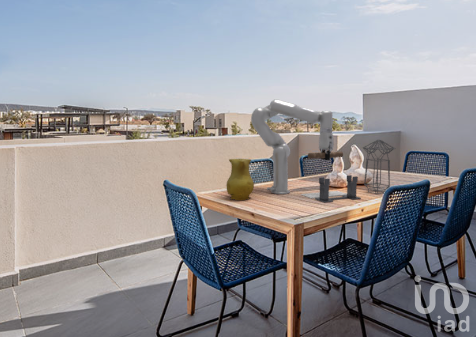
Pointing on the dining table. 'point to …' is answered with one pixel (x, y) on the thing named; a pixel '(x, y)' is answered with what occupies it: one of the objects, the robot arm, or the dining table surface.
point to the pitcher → (240, 180)
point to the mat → (316, 195)
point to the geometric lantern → (377, 164)
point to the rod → (322, 155)
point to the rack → (350, 195)
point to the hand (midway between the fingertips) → (325, 159)
